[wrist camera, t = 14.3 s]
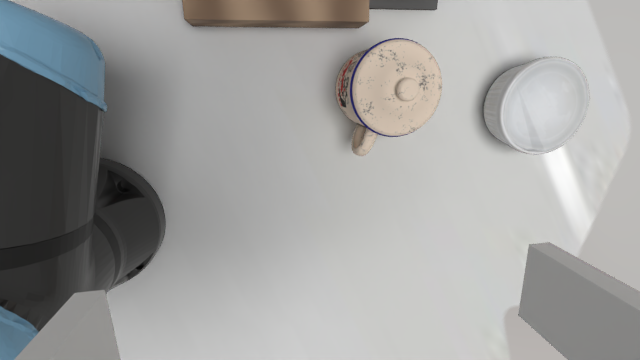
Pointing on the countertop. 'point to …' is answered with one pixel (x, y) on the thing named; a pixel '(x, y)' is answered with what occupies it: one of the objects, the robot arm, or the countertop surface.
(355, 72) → the teacup with lid
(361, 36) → the countertop surface
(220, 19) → the frame
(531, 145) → the ramekin
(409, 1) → the pad
